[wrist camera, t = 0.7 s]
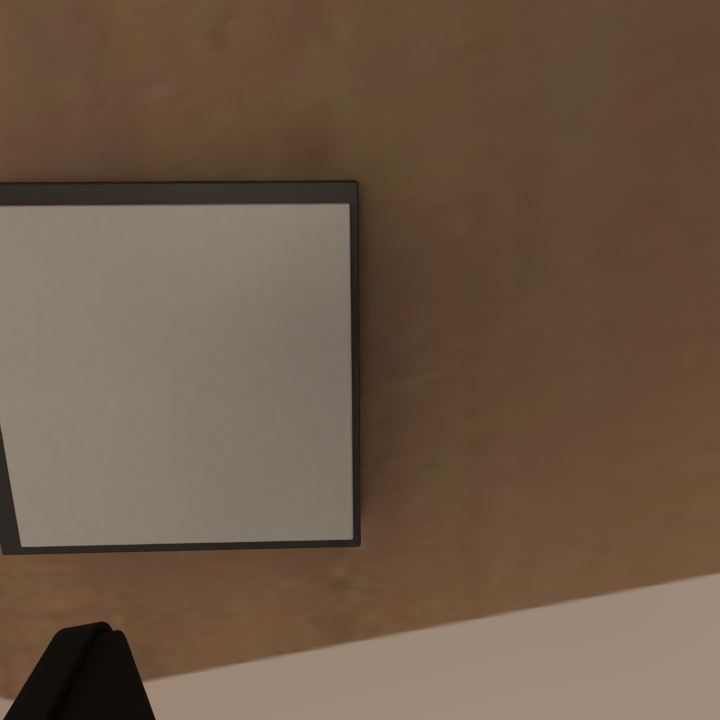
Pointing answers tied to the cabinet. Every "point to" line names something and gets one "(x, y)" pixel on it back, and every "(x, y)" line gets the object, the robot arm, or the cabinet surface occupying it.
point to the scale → (179, 366)
